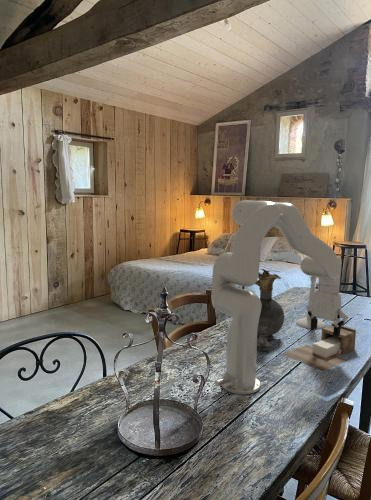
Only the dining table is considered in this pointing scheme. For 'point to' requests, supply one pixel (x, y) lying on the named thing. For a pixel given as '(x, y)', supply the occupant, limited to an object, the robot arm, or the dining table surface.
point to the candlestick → (307, 321)
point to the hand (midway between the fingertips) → (324, 332)
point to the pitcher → (269, 305)
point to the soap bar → (327, 346)
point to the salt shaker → (263, 339)
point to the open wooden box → (321, 362)
